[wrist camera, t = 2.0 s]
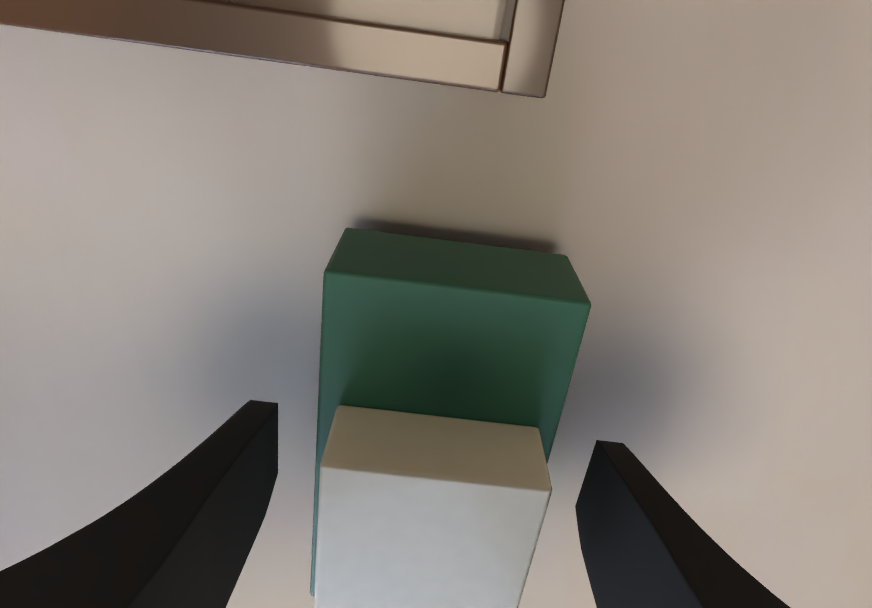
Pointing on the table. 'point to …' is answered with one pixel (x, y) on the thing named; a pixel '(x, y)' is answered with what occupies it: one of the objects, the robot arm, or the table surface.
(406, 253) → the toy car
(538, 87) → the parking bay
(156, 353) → the table surface
